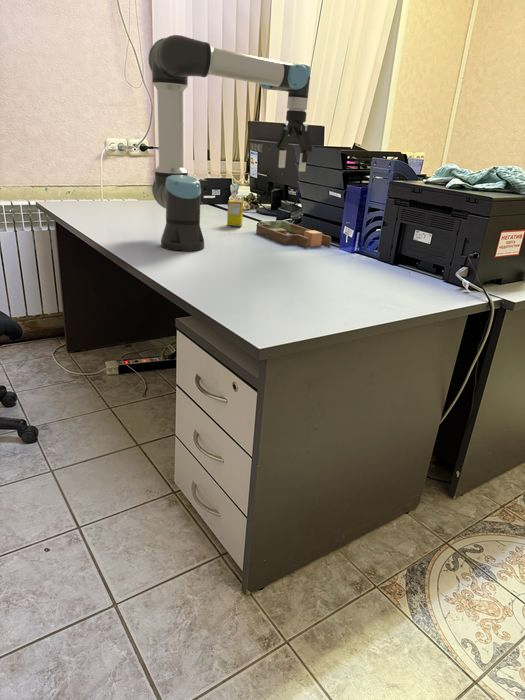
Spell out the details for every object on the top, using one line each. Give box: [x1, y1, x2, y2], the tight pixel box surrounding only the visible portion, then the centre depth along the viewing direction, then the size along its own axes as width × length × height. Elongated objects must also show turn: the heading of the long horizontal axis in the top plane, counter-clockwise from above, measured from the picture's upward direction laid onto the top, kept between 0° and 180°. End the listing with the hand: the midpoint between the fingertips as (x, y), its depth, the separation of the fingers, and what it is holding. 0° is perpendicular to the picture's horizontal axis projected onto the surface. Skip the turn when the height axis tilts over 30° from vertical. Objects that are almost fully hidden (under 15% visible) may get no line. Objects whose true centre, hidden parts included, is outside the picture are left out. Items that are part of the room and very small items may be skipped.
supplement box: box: [226, 198, 244, 228], centre depth 218 cm, size 6×6×11 cm
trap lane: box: [255, 220, 332, 248], centre depth 206 cm, size 17×34×4 cm, turn 32°
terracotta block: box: [304, 229, 323, 247], centre depth 197 cm, size 5×5×5 cm
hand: (291, 169), depth 199 cm, fingers open, 13 cm apart
